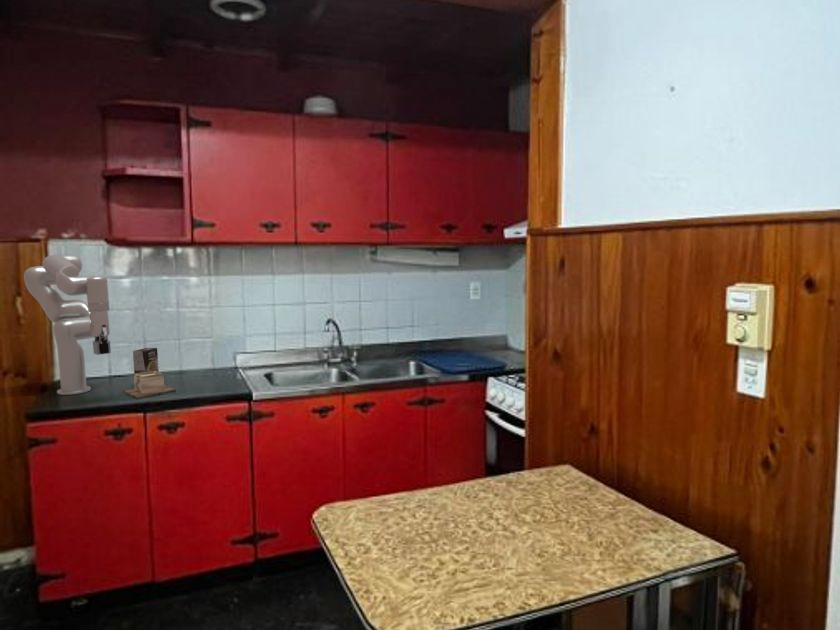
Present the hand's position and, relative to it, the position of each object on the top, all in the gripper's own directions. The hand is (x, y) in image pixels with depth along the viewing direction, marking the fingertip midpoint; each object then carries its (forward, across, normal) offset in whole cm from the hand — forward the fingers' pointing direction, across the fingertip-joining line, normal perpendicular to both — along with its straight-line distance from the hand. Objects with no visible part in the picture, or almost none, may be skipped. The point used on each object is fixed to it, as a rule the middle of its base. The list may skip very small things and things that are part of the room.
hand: (102, 352), depth 244 cm
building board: (+19, +1, +17) cm, 26 cm away
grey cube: (+1, 0, 0) cm, 1 cm away
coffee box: (+20, -15, +21) cm, 33 cm away
